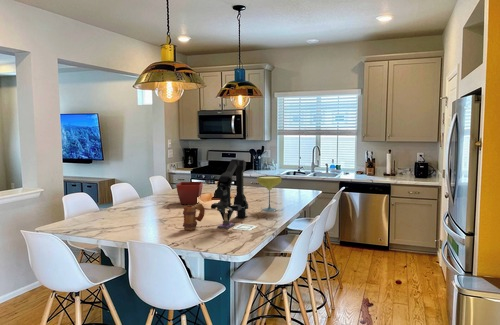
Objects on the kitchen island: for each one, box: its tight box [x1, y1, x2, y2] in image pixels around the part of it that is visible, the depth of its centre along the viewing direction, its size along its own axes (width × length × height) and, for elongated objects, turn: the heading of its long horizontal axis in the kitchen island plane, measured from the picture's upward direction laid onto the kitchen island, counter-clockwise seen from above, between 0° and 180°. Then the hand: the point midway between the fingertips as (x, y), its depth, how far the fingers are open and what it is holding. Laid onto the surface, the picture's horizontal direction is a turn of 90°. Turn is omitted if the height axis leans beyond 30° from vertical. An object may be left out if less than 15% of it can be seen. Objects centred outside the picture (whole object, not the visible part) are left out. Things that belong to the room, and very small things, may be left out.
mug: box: [182, 202, 206, 231], centre depth 224 cm, size 15×8×15 cm, turn 126°
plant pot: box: [175, 181, 204, 205], centre depth 306 cm, size 19×19×17 cm
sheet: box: [231, 223, 259, 232], centre depth 226 cm, size 12×12×1 cm
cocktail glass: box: [256, 175, 282, 212], centre depth 276 cm, size 18×18×25 cm
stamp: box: [222, 212, 231, 225], centre depth 228 cm, size 4×4×7 cm
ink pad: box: [217, 222, 236, 230], centre depth 229 cm, size 10×7×1 cm
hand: (226, 220), depth 228 cm, fingers closed on stamp, 3 cm apart
